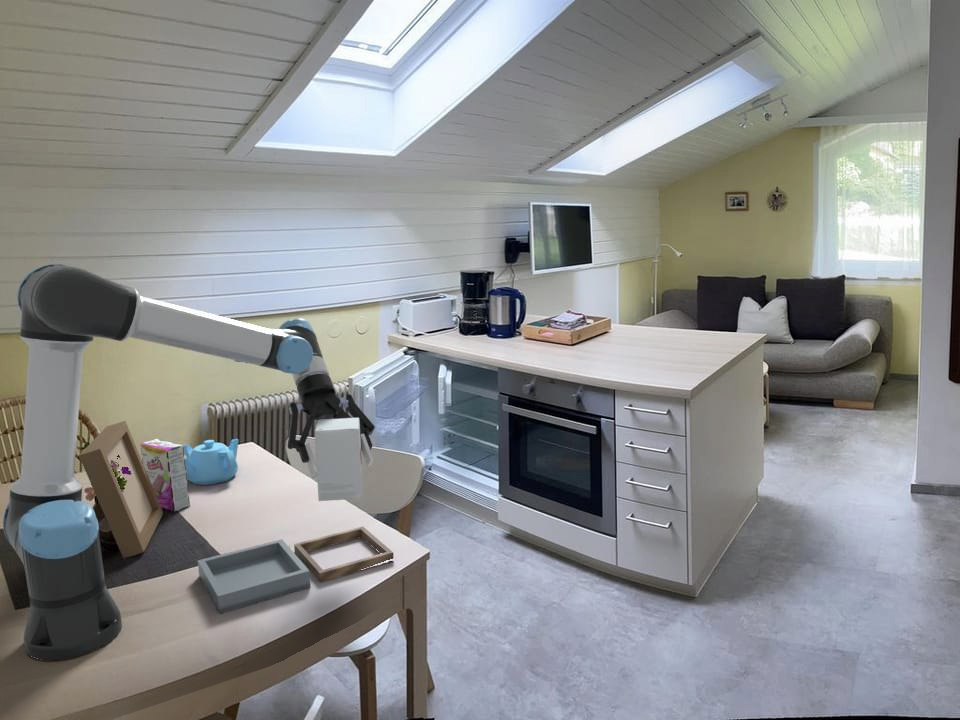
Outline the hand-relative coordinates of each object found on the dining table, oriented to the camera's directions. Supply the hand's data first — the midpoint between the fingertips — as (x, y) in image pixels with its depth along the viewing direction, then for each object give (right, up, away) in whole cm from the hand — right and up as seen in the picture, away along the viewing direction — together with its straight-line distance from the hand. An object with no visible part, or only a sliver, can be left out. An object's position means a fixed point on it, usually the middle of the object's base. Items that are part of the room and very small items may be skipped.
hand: (343, 469), depth 155 cm
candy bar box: (-51, -15, +37) cm, 65 cm away
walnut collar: (-1, -20, +6) cm, 21 cm away
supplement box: (-1, -6, +3) cm, 6 cm away
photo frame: (-54, -19, +18) cm, 60 cm away
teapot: (-47, -11, +57) cm, 75 cm away
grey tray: (-17, -22, -4) cm, 28 cm away
